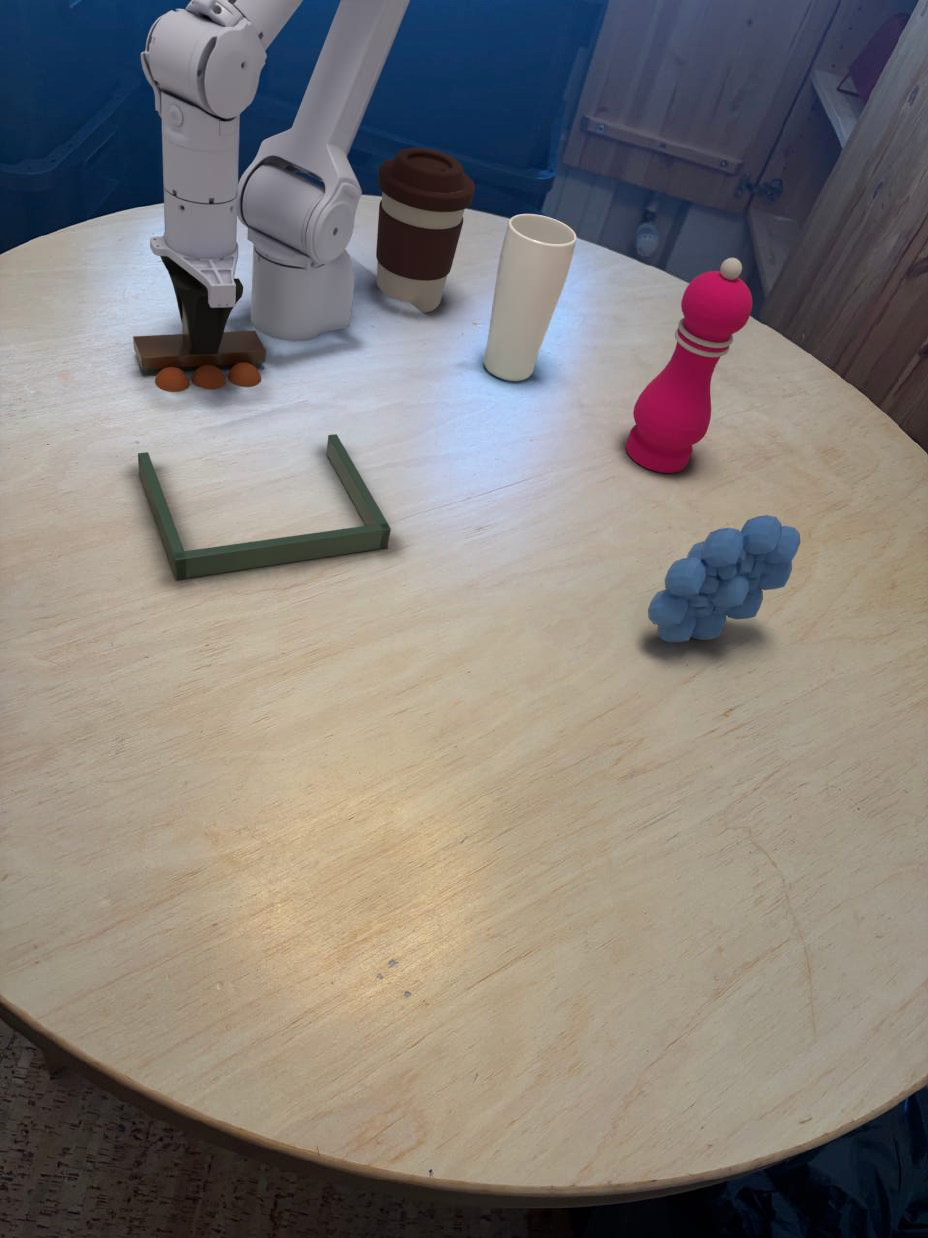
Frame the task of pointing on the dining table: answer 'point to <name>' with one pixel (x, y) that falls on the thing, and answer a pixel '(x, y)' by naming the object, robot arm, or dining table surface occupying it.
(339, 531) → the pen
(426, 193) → the coffee cup
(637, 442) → the pepper mill
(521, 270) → the drinking glass
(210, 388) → the ball middle
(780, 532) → the grapes
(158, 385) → the ball
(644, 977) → the dining table surface
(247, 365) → the ball
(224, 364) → the brush
